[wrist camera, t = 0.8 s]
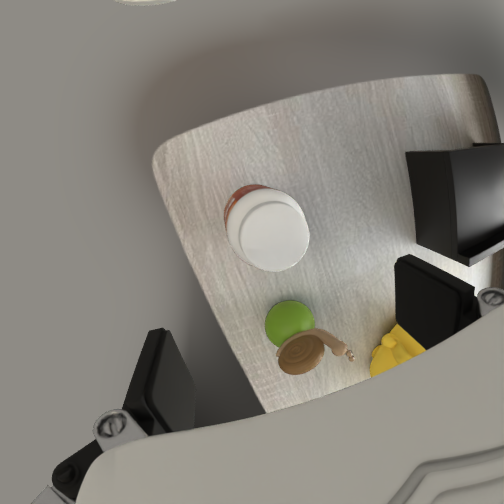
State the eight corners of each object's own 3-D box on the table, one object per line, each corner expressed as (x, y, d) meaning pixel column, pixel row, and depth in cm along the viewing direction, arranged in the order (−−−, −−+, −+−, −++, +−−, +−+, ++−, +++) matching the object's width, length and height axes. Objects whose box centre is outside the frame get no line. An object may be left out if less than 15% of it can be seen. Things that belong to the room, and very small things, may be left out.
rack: (404, 152, 29) (462, 151, 19) (476, 142, 30) (525, 144, 20) (416, 244, 32) (469, 267, 23) (483, 217, 33) (529, 231, 24)
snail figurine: (320, 313, 33) (363, 373, 22) (275, 340, 33) (300, 410, 22) (301, 279, 32) (344, 334, 20) (252, 308, 32) (271, 376, 20)
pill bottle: (219, 189, 28) (220, 198, 17) (278, 180, 28) (315, 184, 18) (229, 248, 30) (236, 290, 19) (286, 238, 30) (323, 273, 20)
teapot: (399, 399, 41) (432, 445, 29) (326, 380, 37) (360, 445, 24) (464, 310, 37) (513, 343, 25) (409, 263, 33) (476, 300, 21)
